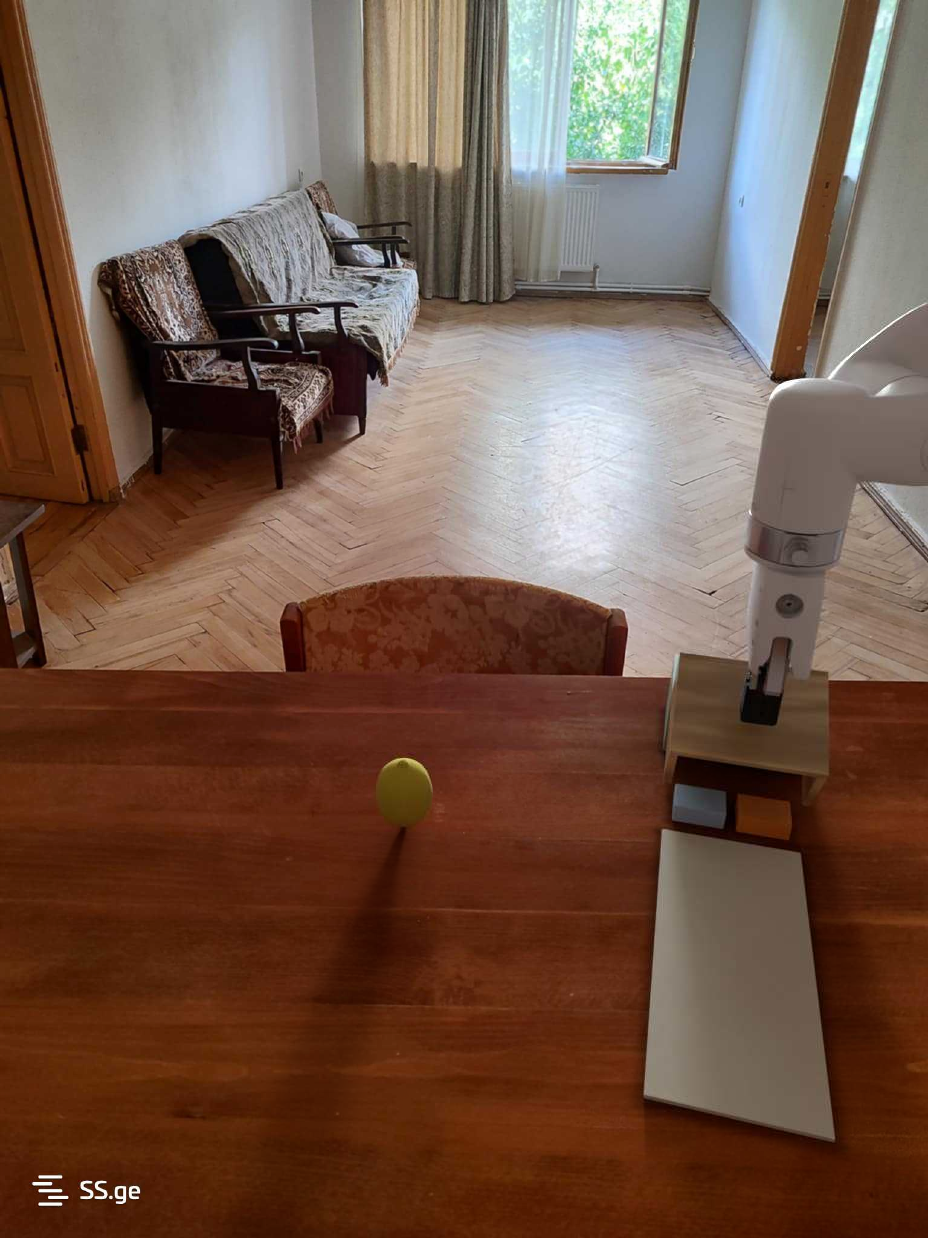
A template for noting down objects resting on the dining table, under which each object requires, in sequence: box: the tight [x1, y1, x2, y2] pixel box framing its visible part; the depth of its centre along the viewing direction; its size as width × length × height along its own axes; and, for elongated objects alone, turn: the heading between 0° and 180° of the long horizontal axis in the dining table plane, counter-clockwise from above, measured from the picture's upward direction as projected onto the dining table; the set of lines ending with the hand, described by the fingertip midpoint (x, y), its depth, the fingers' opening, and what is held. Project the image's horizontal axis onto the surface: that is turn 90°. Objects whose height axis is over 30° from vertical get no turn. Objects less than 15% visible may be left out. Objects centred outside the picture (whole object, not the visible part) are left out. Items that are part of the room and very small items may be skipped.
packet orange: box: [734, 793, 793, 841], centre depth 88 cm, size 4×5×2 cm
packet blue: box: [671, 783, 727, 830], centre depth 89 cm, size 4×5×2 cm
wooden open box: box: [662, 651, 830, 807], centre depth 87 cm, size 8×14×11 cm
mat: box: [643, 828, 836, 1143], centre depth 74 cm, size 28×13×1 cm, turn 166°
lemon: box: [374, 757, 433, 828], centre depth 86 cm, size 6×6×8 cm
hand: (757, 718), depth 81 cm, fingers closed
